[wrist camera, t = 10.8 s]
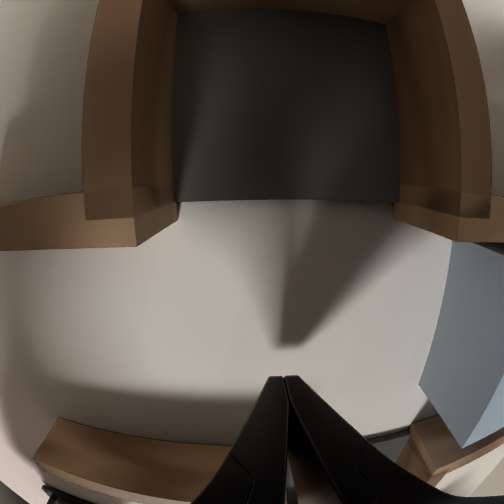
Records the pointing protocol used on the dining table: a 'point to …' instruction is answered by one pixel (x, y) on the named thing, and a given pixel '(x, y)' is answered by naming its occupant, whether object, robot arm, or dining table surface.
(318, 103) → the box
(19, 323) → the dining table surface
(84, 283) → the dining table surface
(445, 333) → the blue-grey block
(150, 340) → the dining table surface
